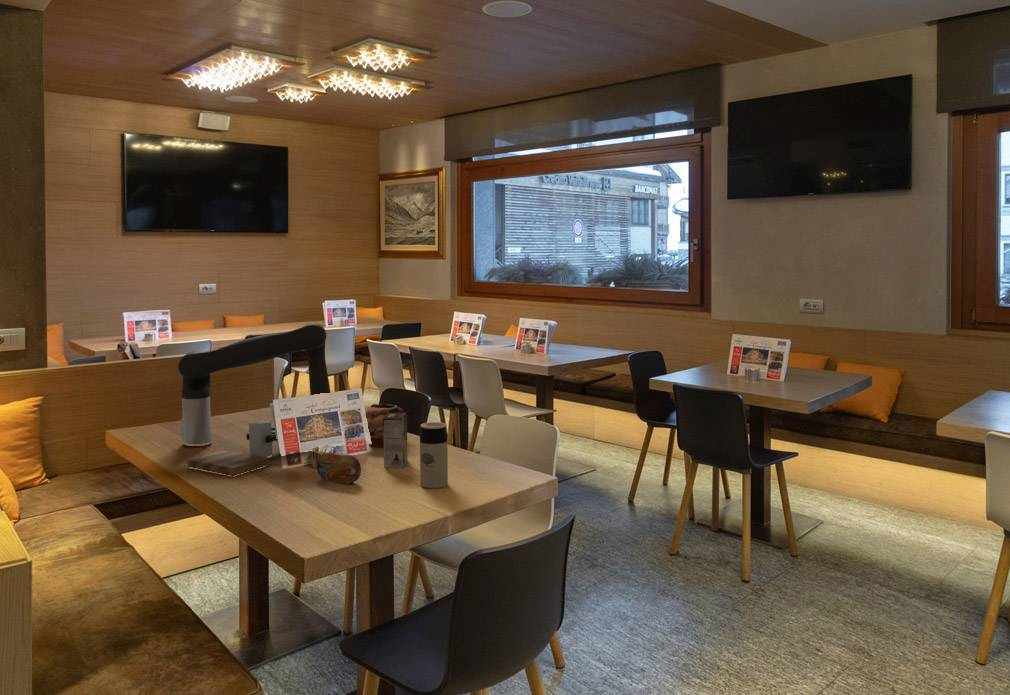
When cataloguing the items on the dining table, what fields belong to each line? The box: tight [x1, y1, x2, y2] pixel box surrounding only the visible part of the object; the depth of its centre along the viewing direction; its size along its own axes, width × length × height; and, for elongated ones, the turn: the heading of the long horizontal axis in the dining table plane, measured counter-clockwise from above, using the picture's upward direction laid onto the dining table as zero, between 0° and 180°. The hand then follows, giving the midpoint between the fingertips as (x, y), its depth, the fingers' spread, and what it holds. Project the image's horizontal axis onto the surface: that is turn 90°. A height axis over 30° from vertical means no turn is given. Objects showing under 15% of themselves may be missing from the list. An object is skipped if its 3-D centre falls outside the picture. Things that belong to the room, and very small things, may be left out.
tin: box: [316, 452, 362, 485], centre depth 229 cm, size 15×3×8 cm, turn 62°
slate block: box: [248, 420, 273, 457], centre depth 257 cm, size 5×5×12 cm
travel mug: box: [419, 421, 449, 490], centre depth 225 cm, size 8×8×18 cm
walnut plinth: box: [187, 450, 269, 476], centre depth 245 cm, size 20×14×3 cm
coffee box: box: [383, 412, 408, 469], centre depth 249 cm, size 9×6×16 cm
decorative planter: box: [365, 403, 405, 448], centre depth 277 cm, size 20×12×14 cm, turn 152°
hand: (256, 438), depth 255 cm, fingers open, 8 cm apart
